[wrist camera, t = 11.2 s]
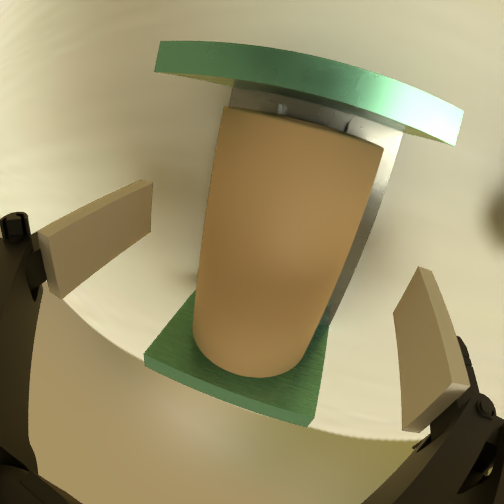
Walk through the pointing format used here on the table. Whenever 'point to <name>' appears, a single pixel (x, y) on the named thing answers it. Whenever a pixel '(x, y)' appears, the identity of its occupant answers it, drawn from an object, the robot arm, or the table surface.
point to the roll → (276, 236)
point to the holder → (389, 137)
